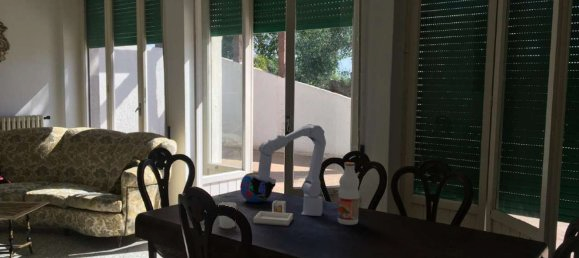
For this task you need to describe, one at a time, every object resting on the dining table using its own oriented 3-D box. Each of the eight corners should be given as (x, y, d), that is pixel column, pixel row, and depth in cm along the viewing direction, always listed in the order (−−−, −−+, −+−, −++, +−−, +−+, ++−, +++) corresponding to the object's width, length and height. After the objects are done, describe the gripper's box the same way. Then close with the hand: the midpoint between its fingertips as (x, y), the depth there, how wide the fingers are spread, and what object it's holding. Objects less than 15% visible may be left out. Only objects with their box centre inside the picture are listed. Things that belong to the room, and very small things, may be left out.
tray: (292, 218, 220) (292, 213, 220) (288, 225, 209) (288, 220, 208) (259, 216, 223) (259, 211, 223) (253, 223, 211) (253, 217, 211)
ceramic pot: (248, 207, 241) (248, 178, 240) (235, 199, 256) (235, 172, 255) (278, 203, 249) (278, 176, 248) (263, 196, 265) (264, 170, 264)
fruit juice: (360, 225, 213) (363, 164, 210) (341, 225, 211) (343, 164, 209) (354, 219, 222) (356, 161, 220) (335, 219, 220) (337, 161, 218)
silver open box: (285, 213, 230) (285, 201, 230) (283, 216, 225) (283, 203, 224) (274, 212, 231) (274, 200, 231) (272, 215, 226) (272, 203, 225)
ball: (282, 212, 230) (282, 206, 229) (281, 214, 227) (281, 208, 226) (276, 211, 230) (276, 205, 230) (275, 213, 227) (275, 207, 227)
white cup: (237, 224, 209) (238, 202, 209) (234, 229, 202) (234, 206, 201) (220, 223, 210) (221, 201, 209) (216, 228, 202) (216, 205, 202)
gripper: (247, 165, 221) (244, 193, 222) (269, 170, 211) (266, 199, 212) (258, 164, 226) (255, 192, 227) (280, 170, 217) (276, 198, 217)
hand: (261, 196), depth 220 cm, fingers open, 7 cm apart
